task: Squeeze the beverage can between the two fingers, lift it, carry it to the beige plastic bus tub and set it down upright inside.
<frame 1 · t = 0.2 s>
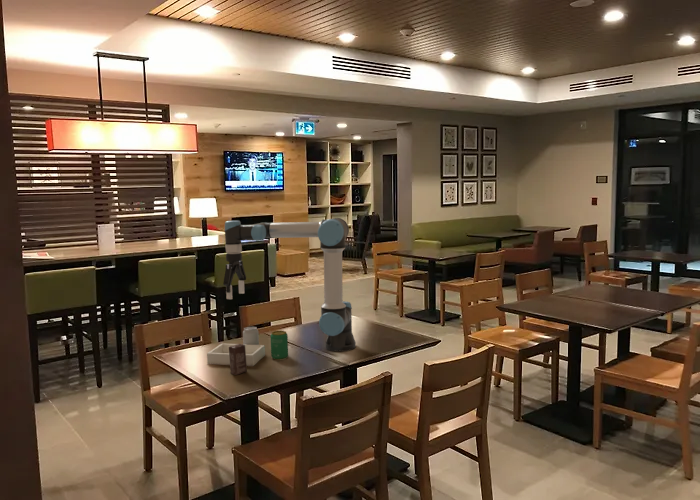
hand: (235, 296, 273), 28 cm above the table, fingers open, 13 cm apart
beverage can: (279, 357, 266), on the table
box: (238, 373, 245), on the table
bus tub: (236, 359, 263), on the table
can: (251, 352, 275), on the table
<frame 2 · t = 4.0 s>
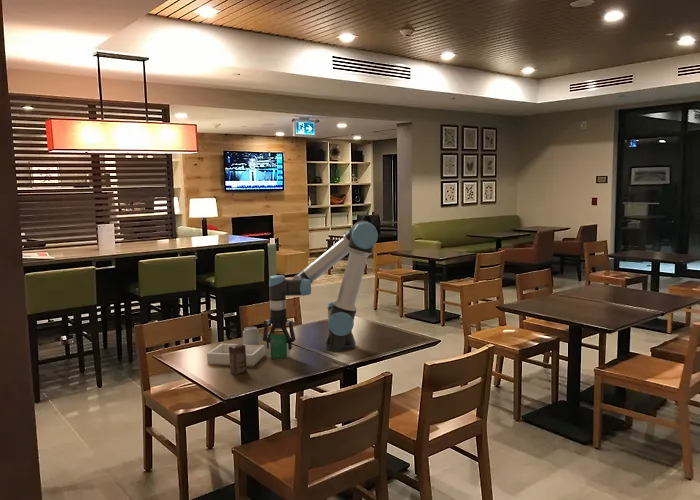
hand: (279, 355, 265), 1 cm above the table, fingers closed on beverage can, 8 cm apart
beverage can: (279, 357, 266), on the table, touching gripper
everything else where it was.
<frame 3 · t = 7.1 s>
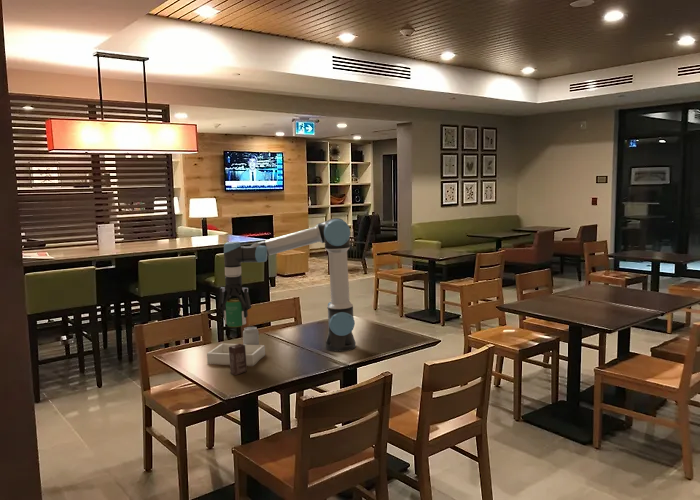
hand: (235, 323, 261), 17 cm above the table, fingers closed on beverage can, 8 cm apart
beverage can: (235, 325, 262), point 16 cm above the table, touching gripper
everything else where it was.
when the fingers open (3 cm above the table, at t = 10.4 s): beverage can drops 2 cm, resting on bus tub.
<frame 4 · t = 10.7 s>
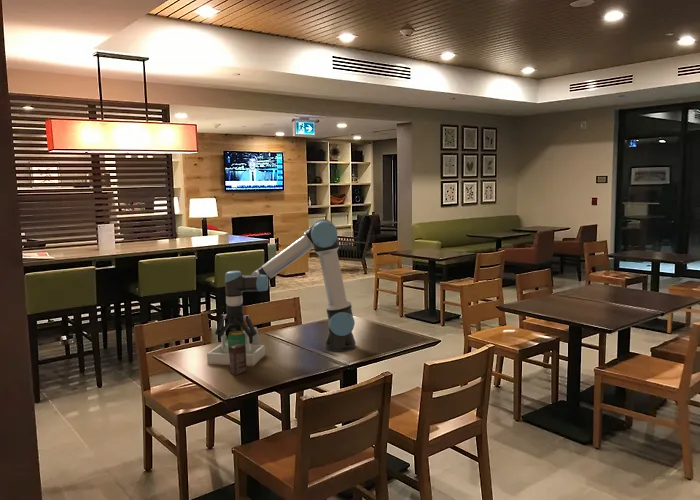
hand: (236, 349, 263), 5 cm above the table, fingers open, 12 cm apart
beverage can: (237, 358, 263), point 1 cm above the table, touching bus tub
everything else where it was.
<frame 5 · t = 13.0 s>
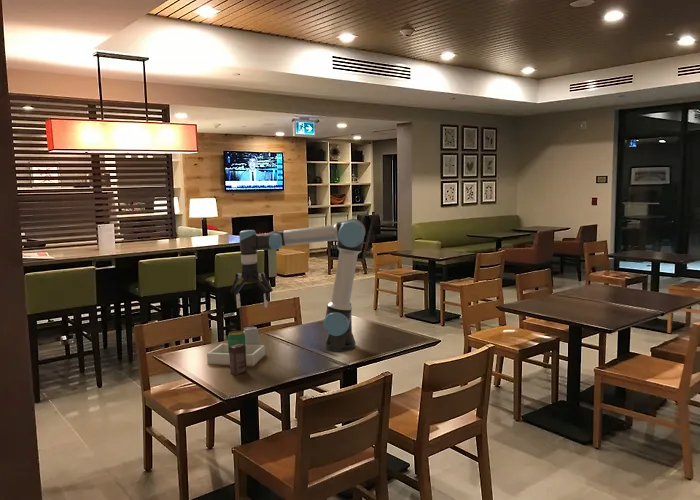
hand: (252, 307, 267), 23 cm above the table, fingers open, 13 cm apart
nothing on the table moved.
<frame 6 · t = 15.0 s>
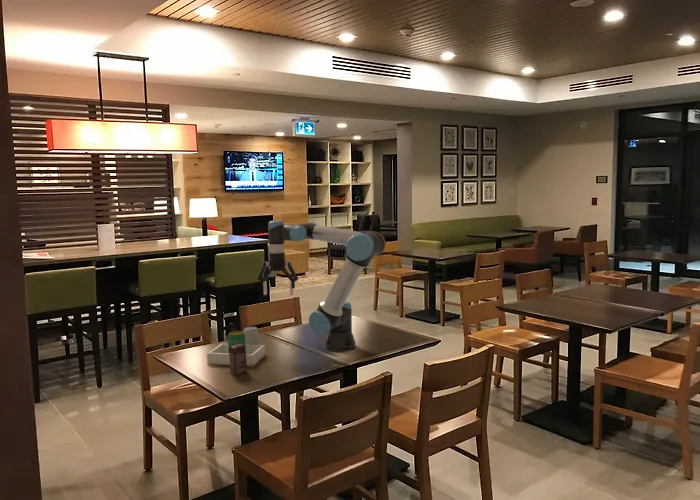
hand: (278, 294, 279), 27 cm above the table, fingers open, 13 cm apart
nothing on the table moved.
at the end: beverage can inside the target area on the bus tub (0.3 cm from its centre), point 0.6 cm above the bus tub's base; beverage can tilted 0°; the gripper is holding nothing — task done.
